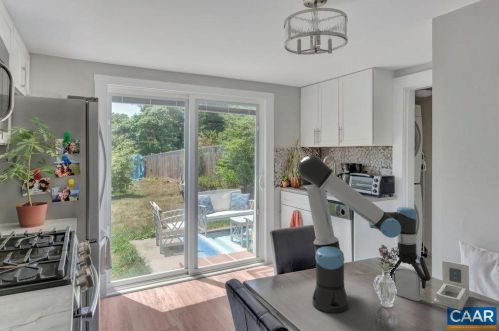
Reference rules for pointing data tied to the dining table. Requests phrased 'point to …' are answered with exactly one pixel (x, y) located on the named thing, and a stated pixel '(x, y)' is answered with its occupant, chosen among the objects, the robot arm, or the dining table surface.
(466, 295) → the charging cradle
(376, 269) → the dining table surface
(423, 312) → the dining table surface
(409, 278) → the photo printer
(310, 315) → the dining table surface
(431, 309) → the dining table surface
